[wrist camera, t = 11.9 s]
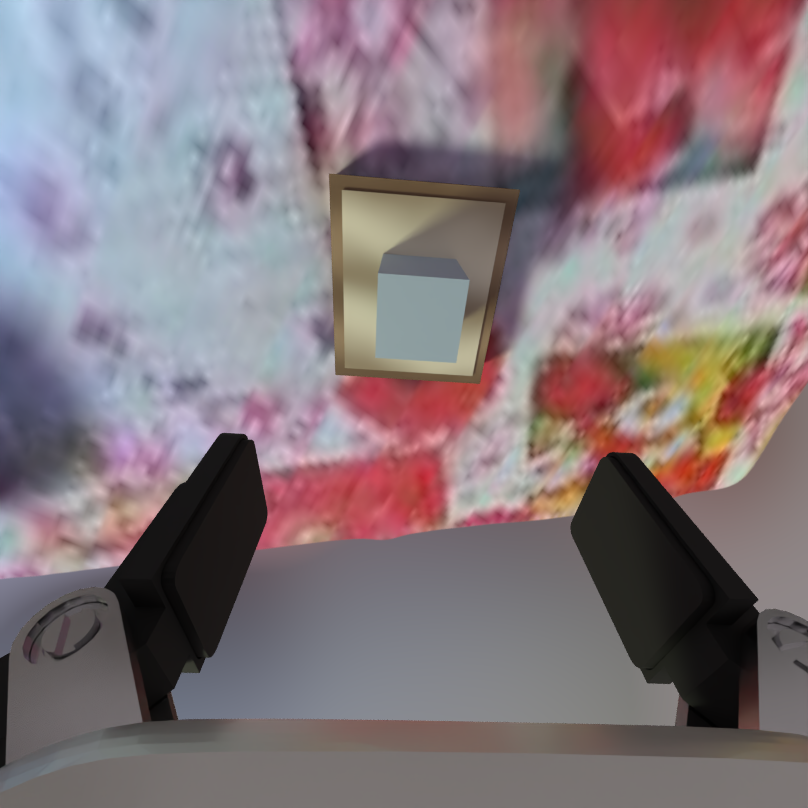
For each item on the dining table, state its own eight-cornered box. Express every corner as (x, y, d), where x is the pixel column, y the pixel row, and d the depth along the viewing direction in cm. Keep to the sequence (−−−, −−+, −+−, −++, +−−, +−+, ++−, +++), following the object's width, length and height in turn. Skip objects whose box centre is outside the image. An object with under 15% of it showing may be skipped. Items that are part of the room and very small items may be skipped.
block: (383, 253, 25) (378, 273, 20) (456, 259, 25) (469, 279, 20) (380, 324, 27) (375, 357, 22) (446, 328, 27) (456, 363, 22)
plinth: (336, 174, 25) (328, 173, 22) (508, 188, 25) (521, 189, 23) (340, 359, 32) (335, 376, 30) (473, 367, 33) (480, 385, 30)
